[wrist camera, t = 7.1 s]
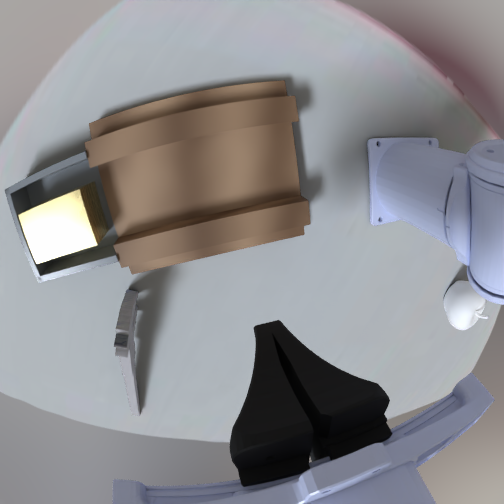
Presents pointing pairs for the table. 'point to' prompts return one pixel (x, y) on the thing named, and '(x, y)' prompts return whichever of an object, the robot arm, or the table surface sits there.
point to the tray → (51, 185)
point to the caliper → (128, 347)
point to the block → (65, 223)
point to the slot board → (200, 174)
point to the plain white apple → (463, 305)
